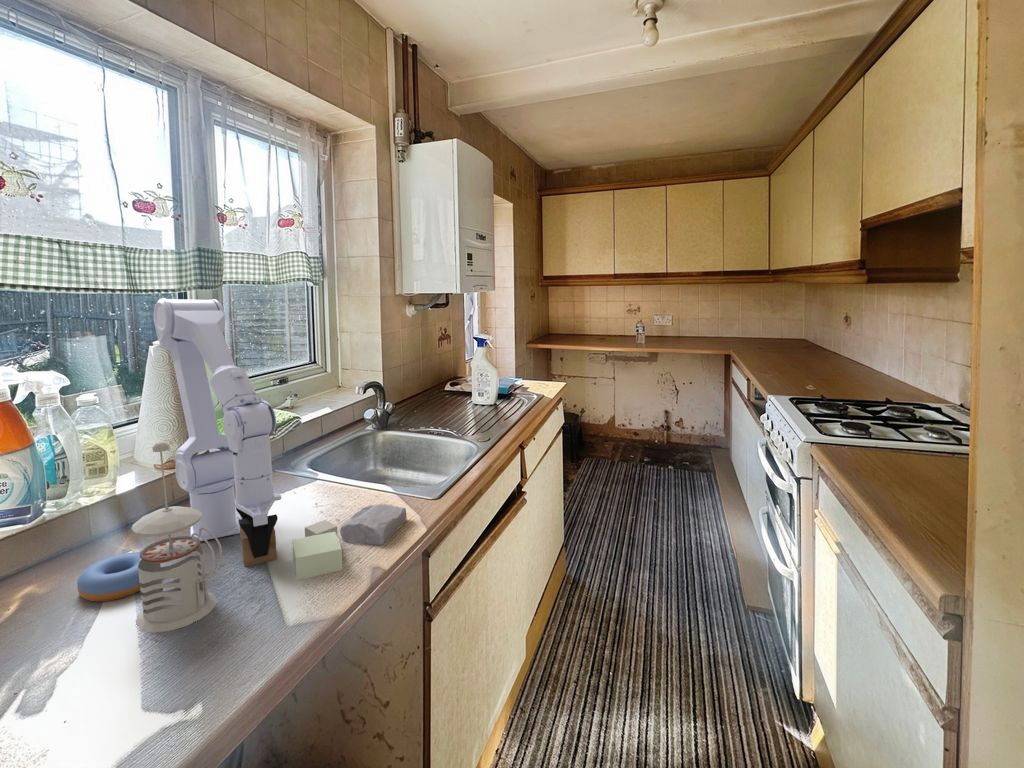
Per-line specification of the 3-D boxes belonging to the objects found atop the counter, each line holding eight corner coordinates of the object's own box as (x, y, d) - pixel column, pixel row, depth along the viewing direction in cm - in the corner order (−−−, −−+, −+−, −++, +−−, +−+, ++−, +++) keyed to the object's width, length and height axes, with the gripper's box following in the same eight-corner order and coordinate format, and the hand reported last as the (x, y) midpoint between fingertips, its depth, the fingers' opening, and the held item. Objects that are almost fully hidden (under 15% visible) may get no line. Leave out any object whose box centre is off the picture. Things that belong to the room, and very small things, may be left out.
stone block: (337, 551, 93) (386, 547, 91) (331, 527, 92) (381, 522, 90) (367, 526, 104) (411, 521, 102) (362, 504, 104) (406, 499, 102)
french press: (168, 589, 77) (151, 431, 72) (242, 592, 76) (230, 433, 72) (116, 631, 67) (93, 451, 63) (201, 634, 67) (184, 454, 62)
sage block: (293, 561, 86) (292, 539, 85) (336, 552, 89) (335, 531, 88) (296, 581, 80) (295, 558, 79) (342, 571, 83) (341, 548, 82)
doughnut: (142, 599, 74) (138, 569, 73) (62, 611, 71) (58, 580, 71) (171, 571, 83) (168, 544, 83) (102, 580, 81) (98, 553, 81)
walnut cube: (241, 553, 88) (239, 527, 87) (273, 546, 90) (271, 520, 89) (244, 566, 83) (242, 538, 83) (277, 558, 86) (275, 531, 85)
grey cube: (305, 548, 90) (304, 527, 90) (325, 540, 93) (324, 519, 93) (317, 555, 88) (316, 533, 87) (338, 546, 91) (337, 526, 90)
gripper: (285, 483, 80) (290, 561, 83) (273, 458, 92) (277, 527, 95) (236, 491, 77) (242, 572, 79) (229, 464, 89) (235, 536, 91)
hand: (258, 548), depth 87 cm, fingers closed on walnut cube, 5 cm apart
